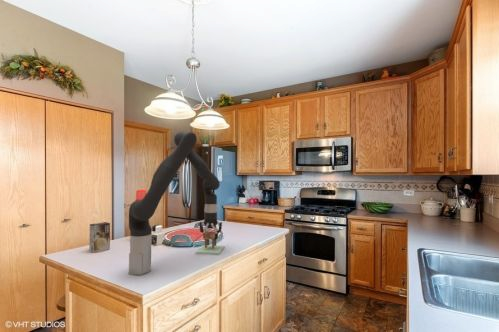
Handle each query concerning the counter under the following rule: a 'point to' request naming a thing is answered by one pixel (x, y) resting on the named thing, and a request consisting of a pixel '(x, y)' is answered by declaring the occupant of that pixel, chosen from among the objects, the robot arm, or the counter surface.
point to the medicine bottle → (157, 235)
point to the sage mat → (210, 250)
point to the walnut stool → (210, 236)
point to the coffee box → (99, 237)
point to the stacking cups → (140, 194)
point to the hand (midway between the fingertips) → (210, 239)
